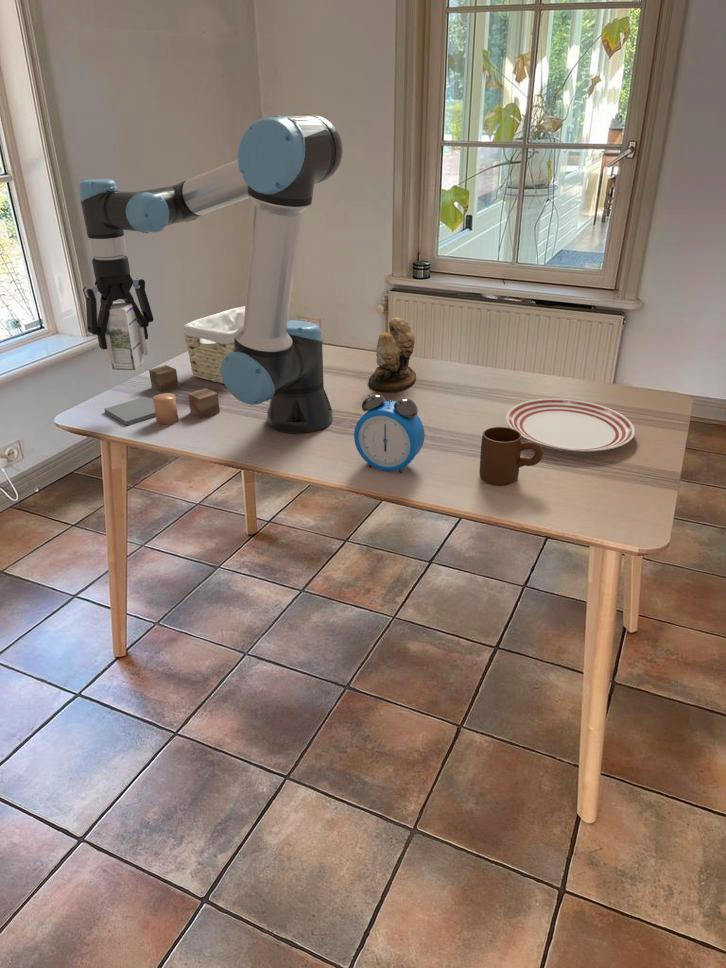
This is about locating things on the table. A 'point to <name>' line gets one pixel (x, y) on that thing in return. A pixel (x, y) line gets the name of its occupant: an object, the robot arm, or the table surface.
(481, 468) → the mug
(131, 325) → the syrup box
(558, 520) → the table surface
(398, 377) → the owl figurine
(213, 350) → the storage basket
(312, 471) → the table surface
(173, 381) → the dark oak block
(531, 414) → the dinner plate
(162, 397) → the terracotta cylinder
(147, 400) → the slate tile
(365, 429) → the alarm clock
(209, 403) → the walnut block
